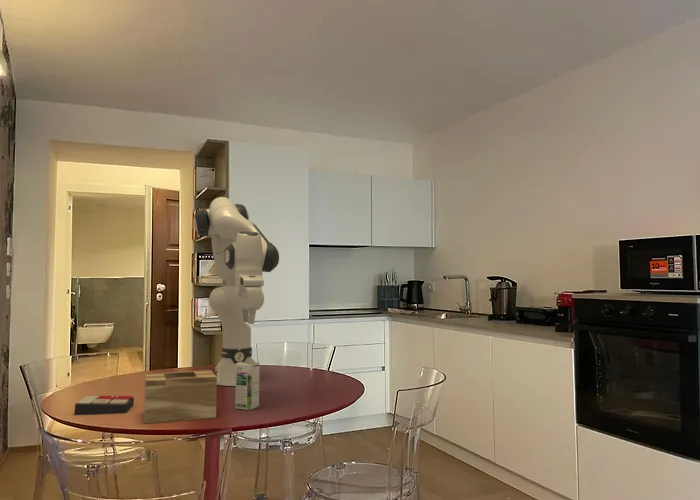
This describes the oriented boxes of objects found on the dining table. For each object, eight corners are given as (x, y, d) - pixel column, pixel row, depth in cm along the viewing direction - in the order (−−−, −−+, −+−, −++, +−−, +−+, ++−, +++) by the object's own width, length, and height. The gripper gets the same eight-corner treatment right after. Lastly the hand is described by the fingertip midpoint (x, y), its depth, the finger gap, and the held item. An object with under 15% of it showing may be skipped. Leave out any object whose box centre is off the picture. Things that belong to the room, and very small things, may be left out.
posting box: (144, 412, 168) (145, 373, 169) (210, 407, 175) (210, 369, 176) (144, 423, 155) (145, 381, 156) (216, 417, 162) (216, 376, 163)
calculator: (126, 402, 168) (74, 401, 165) (125, 416, 167) (73, 416, 165) (134, 395, 179) (86, 394, 176) (133, 408, 178) (84, 407, 176)
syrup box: (234, 409, 173) (234, 363, 174) (244, 405, 178) (245, 360, 179) (249, 410, 171) (250, 364, 172) (259, 406, 176) (260, 361, 177)
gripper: (233, 280, 186) (233, 321, 185) (244, 280, 167) (244, 325, 166) (252, 280, 188) (251, 320, 187) (265, 280, 169) (264, 324, 168)
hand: (248, 322), depth 176 cm, fingers open, 8 cm apart
